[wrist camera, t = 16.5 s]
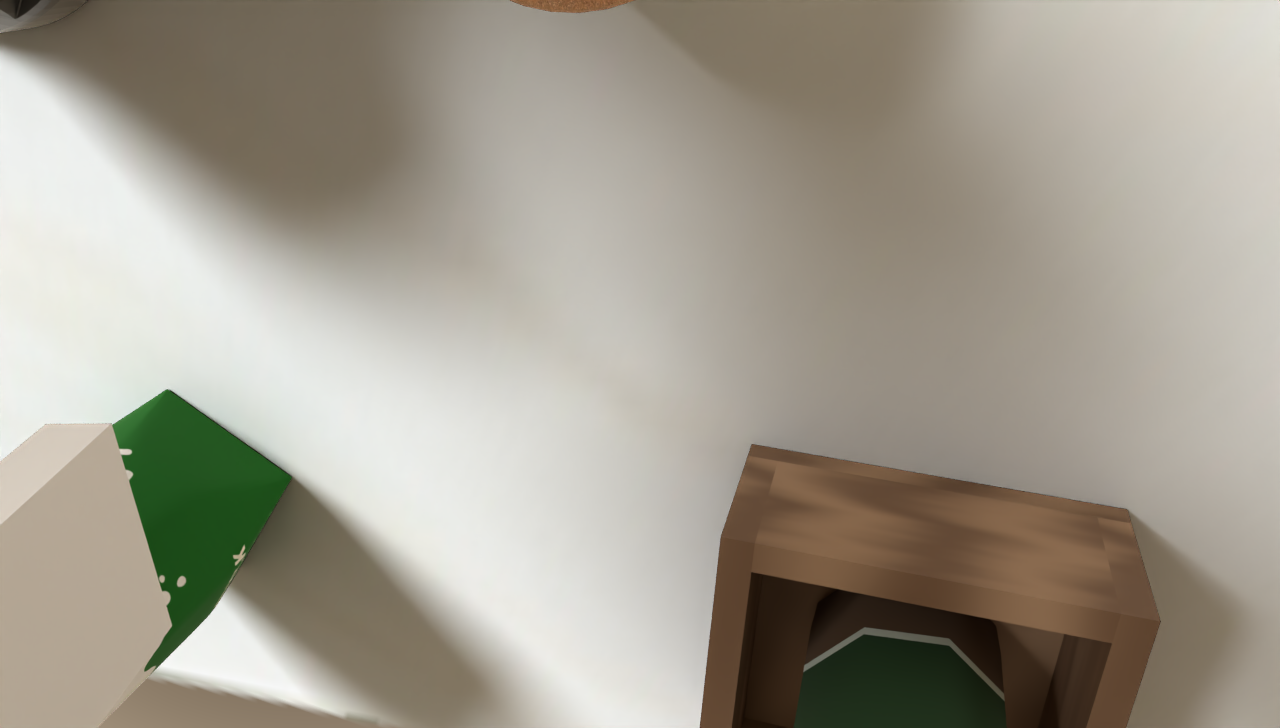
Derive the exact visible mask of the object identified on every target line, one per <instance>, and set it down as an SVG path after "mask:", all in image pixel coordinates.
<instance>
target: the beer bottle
mask: <svg viewBox="0 0 1280 728" xmlns="http://www.w3.org/2000/svg"><path fill="white" fill-rule="evenodd" d="M794 728H1007V724H1006V712H1005V699H1004V686H1003V674H1002V661H1001V651H1000V645H999V640H998V634H997V628H996V625H995V624H994V623H993V622H992V621H991V620H990V619H986V618H981V617H976V616H971V615H966V614H961V613H956V612H951V611H946V610H941V609H936V608H931V607H926V606H921V605H916V604H910V603H905V602H900V601H895V600H890V599H885V598H880V597H875V596H870V595H865V594H860V593H855V592H850V591H845V590H840V589H837V590H836V591H834V592H833V593H831V594H830V595H828V596H827V597H825V598H824V599H822V600H821V601H819V602H818V604H817V607H816V611H815V615H814V618H813V622H812V626H811V630H810V636H809V642H808V648H807V653H806V659H805V665H804V671H803V676H802V682H801V688H800V694H799V699H798V705H797V711H796V717H795V722H794Z"/></svg>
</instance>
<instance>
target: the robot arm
mask: <svg viewBox="0 0 1280 728" xmlns="http://www.w3.org/2000/svg"><path fill="white" fill-rule="evenodd" d="M87 1H88V0H0V33H3V32H9V31H16V30H22V29H28V28H34V27H39V26H43V25H46V24H49V23H52V22H55V21H57V20H59V19H61V18H64V17H65V16H67V15H69V14H71V13H72V12H74V11H75V10H77V9H78V8H79V7H81V6H82V5H83V4H84V3H85V2H87ZM171 627H172V623H171V620H170V617H169V613H168V610H167V607H166V603H165V600H164V597H163V593H162V590H161V587H160V583H159V580H158V577H157V573H156V570H155V567H154V563H153V560H152V557H151V553H150V550H149V547H148V543H147V540H146V537H145V533H144V530H143V527H142V523H141V520H140V517H139V513H138V510H137V507H136V503H135V500H134V497H133V493H132V490H131V487H130V483H129V480H128V477H127V473H126V470H125V467H124V463H123V460H122V457H121V453H120V450H119V447H118V443H117V440H116V437H115V433H114V430H113V427H112V423H102V424H45V425H44V426H43V427H42V428H40V429H39V430H38V431H37V432H36V433H34V434H33V435H32V436H31V437H30V438H28V439H27V440H26V441H25V442H23V443H22V444H21V445H20V446H19V447H17V448H16V449H15V450H14V451H13V452H11V453H10V454H9V455H8V456H7V457H5V458H4V459H3V460H2V461H1V462H0V728H98V727H99V725H100V724H101V723H102V721H103V720H104V719H105V717H106V716H107V714H108V713H109V712H110V710H111V709H112V708H113V706H114V705H115V703H116V702H117V701H118V699H119V698H120V697H121V695H122V694H123V692H124V691H125V690H126V688H127V687H128V686H129V684H130V683H131V682H132V680H133V679H134V677H135V676H136V675H137V673H138V672H139V671H140V669H141V668H142V666H143V665H144V664H145V662H146V661H147V660H148V658H149V657H150V655H151V654H152V653H153V651H154V650H155V649H156V647H157V646H158V645H159V643H160V642H161V640H162V639H163V638H164V636H165V635H166V634H167V632H168V631H169V629H170V628H171Z"/></svg>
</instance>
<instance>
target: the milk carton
mask: <svg viewBox="0 0 1280 728" xmlns="http://www.w3.org/2000/svg"><path fill="white" fill-rule="evenodd" d="M112 427H113V430H114V433H115V437H116V440H117V443H118V447H119V450H120V453H121V457H122V460H123V463H124V467H125V470H126V473H127V477H128V480H129V483H130V487H131V490H132V493H133V497H134V500H135V503H136V507H137V510H138V513H139V517H140V520H141V523H142V527H143V530H144V533H145V537H146V540H147V543H148V547H149V550H150V553H151V557H152V560H153V563H154V567H155V570H156V573H157V577H158V580H159V583H160V587H161V590H162V593H163V597H164V600H165V603H166V607H167V610H168V613H169V617H170V620H171V623H172V627H171V628H170V629H169V631H168V632H167V634H166V635H165V636H164V638H163V639H162V640H161V642H160V643H159V645H158V646H157V647H156V649H155V650H154V651H153V653H152V654H151V655H150V657H149V658H148V660H147V661H146V662H145V664H144V665H143V666H142V668H141V669H140V671H139V672H138V673H137V675H136V676H135V677H134V679H133V680H132V682H131V683H130V684H129V686H128V687H127V688H126V690H125V691H124V692H123V694H122V695H121V697H120V698H119V699H118V701H117V702H116V703H115V705H114V706H113V708H112V709H111V710H110V712H109V713H108V714H107V716H106V717H105V719H104V720H103V721H102V723H103V722H104V721H105V720H106V719H107V718H108V717H109V716H110V715H111V714H112V713H113V712H114V711H115V710H116V709H117V708H118V707H119V706H120V705H121V704H122V703H123V702H124V701H125V700H126V699H127V698H128V697H129V696H130V694H132V692H134V691H135V690H136V689H137V688H138V686H139V685H141V684H142V682H144V681H145V680H146V679H147V678H148V677H149V676H150V675H151V674H152V672H153V671H154V670H155V669H156V668H157V667H158V666H159V665H160V664H161V663H162V662H163V661H164V660H165V659H166V658H167V657H168V656H169V655H170V654H171V653H172V652H173V651H174V650H175V649H176V648H177V647H178V646H179V645H180V644H181V643H182V642H183V641H184V640H185V639H186V638H187V637H188V636H189V635H190V634H191V633H192V632H193V631H194V630H195V629H196V628H197V627H198V626H199V625H200V624H201V623H202V622H203V621H204V620H205V619H206V618H207V617H208V616H209V614H210V613H211V612H212V611H213V610H214V608H215V607H216V605H217V604H218V602H219V601H220V599H221V598H222V596H223V594H224V593H225V591H226V589H227V588H228V586H229V585H230V583H231V581H232V580H233V578H234V577H235V575H236V573H237V572H238V570H239V568H240V567H241V565H242V563H243V562H244V560H245V558H246V556H247V555H248V553H249V551H250V549H251V548H252V546H253V544H254V543H255V541H256V539H257V537H258V536H259V534H260V532H261V530H262V529H263V527H264V525H265V524H266V522H267V520H268V518H269V517H270V515H271V513H272V511H273V510H274V508H275V506H276V505H277V503H278V501H279V499H280V498H281V496H282V494H283V493H284V491H285V489H286V487H287V486H288V484H289V482H290V480H291V479H292V477H291V476H290V475H288V474H287V473H285V472H284V471H283V470H281V469H280V468H278V467H277V466H275V465H274V464H273V463H271V462H270V461H268V460H267V459H266V458H264V457H263V456H261V455H260V454H259V453H257V452H256V451H254V450H253V449H251V448H250V447H249V446H247V445H246V444H244V443H243V442H242V441H240V440H239V439H237V438H236V437H234V436H233V435H232V434H230V433H229V432H227V431H226V430H225V429H223V428H222V427H220V426H219V425H217V424H216V423H215V422H213V421H212V420H210V419H209V418H208V417H206V416H205V415H203V414H202V413H200V412H199V411H198V410H196V409H195V408H193V407H192V406H191V405H189V404H188V403H186V402H185V401H183V400H182V399H181V398H179V397H178V396H176V395H175V394H174V393H172V392H171V391H169V390H168V389H167V390H165V391H164V392H162V393H161V394H159V395H158V396H156V397H154V398H153V399H151V400H150V401H148V402H147V403H145V404H144V405H142V406H141V407H139V408H138V409H136V410H135V411H133V412H132V413H130V414H129V415H127V416H126V417H124V418H122V419H121V420H119V421H118V422H116V423H115V424H113V425H112ZM102 723H101V724H102ZM101 724H100V725H101ZM100 725H99V726H100Z"/></svg>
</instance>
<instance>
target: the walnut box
mask: <svg viewBox="0 0 1280 728" xmlns="http://www.w3.org/2000/svg"><path fill="white" fill-rule="evenodd" d="M837 589H840V590H845V591H850V592H855V593H860V594H865V595H870V596H875V597H880V598H885V599H890V600H895V601H900V602H905V603H910V604H916V605H921V606H926V607H931V608H936V609H941V610H946V611H951V612H956V613H961V614H966V615H971V616H976V617H981V618H986V619H990V620H991V621H992V622H993V623H994V624H995V625H996V628H997V634H998V640H999V645H1000V651H1001V661H1002V674H1003V686H1004V699H1005V712H1006V724H1007V728H1126V726H1127V723H1128V720H1129V717H1130V713H1131V710H1132V707H1133V704H1134V701H1135V698H1136V695H1137V692H1138V689H1139V686H1140V683H1141V680H1142V677H1143V674H1144V671H1145V668H1146V665H1147V662H1148V659H1149V655H1150V652H1151V649H1152V646H1153V643H1154V640H1155V637H1156V634H1157V631H1158V628H1159V625H1160V622H1161V621H1160V618H1159V614H1158V611H1157V608H1156V604H1155V601H1154V598H1153V594H1152V591H1151V587H1150V584H1149V581H1148V577H1147V574H1146V571H1145V567H1144V564H1143V561H1142V557H1141V554H1140V551H1139V547H1138V544H1137V540H1136V537H1135V534H1134V530H1133V527H1132V524H1131V520H1130V517H1129V514H1128V510H1127V509H1121V508H1116V507H1110V506H1104V505H1098V504H1093V503H1087V502H1081V501H1075V500H1070V499H1064V498H1058V497H1052V496H1047V495H1041V494H1035V493H1030V492H1024V491H1018V490H1012V489H1007V488H1001V487H995V486H989V485H984V484H978V483H972V482H966V481H961V480H955V479H949V478H943V477H938V476H932V475H926V474H920V473H915V472H909V471H903V470H897V469H892V468H886V467H880V466H874V465H869V464H863V463H857V462H851V461H846V460H840V459H834V458H828V457H823V456H817V455H811V454H805V453H800V452H794V451H788V450H782V449H777V448H771V447H765V446H760V445H754V444H752V445H751V448H750V451H749V454H748V457H747V460H746V463H745V466H744V469H743V472H742V475H741V478H740V481H739V484H738V487H737V490H736V493H735V496H734V499H733V502H732V505H731V508H730V511H729V514H728V517H727V520H726V523H725V526H724V529H723V532H722V535H721V539H720V549H719V558H718V567H717V576H716V585H715V594H714V603H713V612H712V621H711V630H710V639H709V648H708V658H707V667H706V676H705V685H704V694H703V703H702V712H701V721H700V728H794V722H795V717H796V711H797V705H798V699H799V694H800V688H801V682H802V676H803V671H804V665H805V659H806V653H807V648H808V642H809V636H810V630H811V626H812V622H813V618H814V615H815V611H816V607H817V604H818V602H819V601H821V600H822V599H824V598H825V597H827V596H828V595H830V594H831V593H833V592H834V591H836V590H837Z"/></svg>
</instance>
